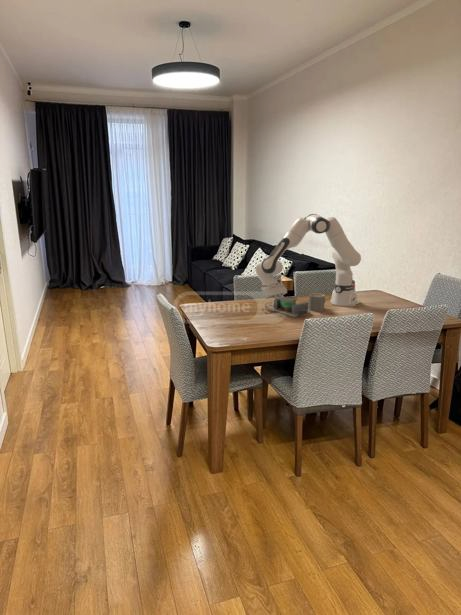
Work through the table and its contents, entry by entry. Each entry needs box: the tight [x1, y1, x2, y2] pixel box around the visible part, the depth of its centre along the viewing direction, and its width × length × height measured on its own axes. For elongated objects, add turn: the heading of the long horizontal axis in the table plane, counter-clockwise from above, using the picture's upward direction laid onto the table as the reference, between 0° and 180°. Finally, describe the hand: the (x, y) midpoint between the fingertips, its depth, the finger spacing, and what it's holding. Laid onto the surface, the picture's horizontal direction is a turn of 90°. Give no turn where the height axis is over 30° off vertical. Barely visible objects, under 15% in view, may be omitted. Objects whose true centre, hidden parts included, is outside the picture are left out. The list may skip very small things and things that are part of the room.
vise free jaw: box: [273, 299, 280, 309], centre depth 291 cm, size 14×3×6 cm, turn 134°
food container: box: [279, 295, 298, 312], centre depth 285 cm, size 12×6×10 cm, turn 98°
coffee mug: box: [308, 292, 326, 313], centre depth 293 cm, size 13×10×10 cm
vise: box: [266, 300, 311, 318], centre depth 288 cm, size 16×23×7 cm
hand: (280, 301), depth 293 cm, fingers closed, pressing on vise free jaw
